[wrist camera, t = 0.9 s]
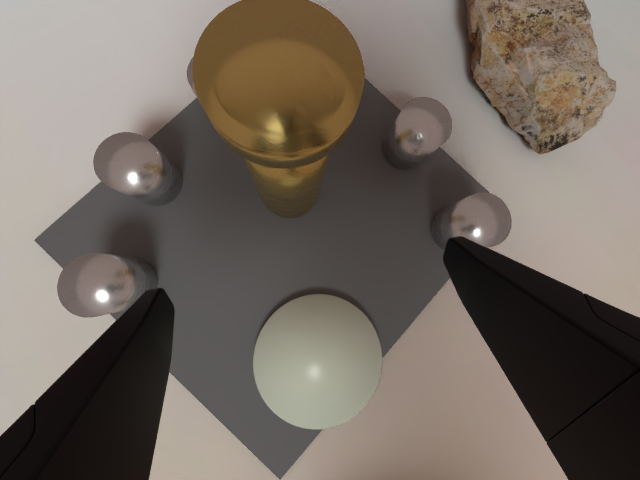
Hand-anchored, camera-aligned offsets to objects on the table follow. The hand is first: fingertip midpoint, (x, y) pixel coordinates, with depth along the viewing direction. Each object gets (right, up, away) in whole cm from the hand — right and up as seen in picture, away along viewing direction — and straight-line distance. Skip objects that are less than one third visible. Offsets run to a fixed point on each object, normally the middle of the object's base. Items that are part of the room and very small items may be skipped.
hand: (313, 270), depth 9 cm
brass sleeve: (-2, +5, +13) cm, 14 cm away
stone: (+17, +18, +17) cm, 30 cm away
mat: (-2, +2, +13) cm, 13 cm away
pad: (0, -7, +12) cm, 14 cm away
